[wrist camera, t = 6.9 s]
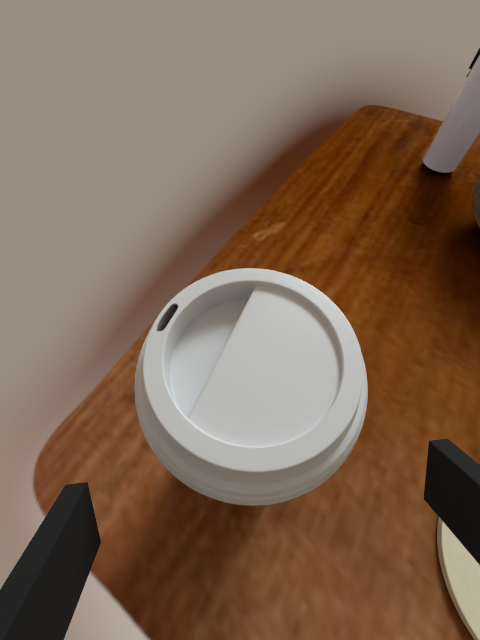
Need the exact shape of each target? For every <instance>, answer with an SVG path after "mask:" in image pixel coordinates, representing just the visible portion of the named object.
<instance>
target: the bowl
mask: <svg viewBox="0 0 480 640" xmlns="http://www.w3.org/2000/svg"><path fill="white" fill-rule="evenodd" d="M472 203H473V212H474V216H475V219H476V221H477V224H478V226H479V228H480V178H479V180H478V182H477V184H476V186H475V188H474V191H473V201H472Z"/></svg>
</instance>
